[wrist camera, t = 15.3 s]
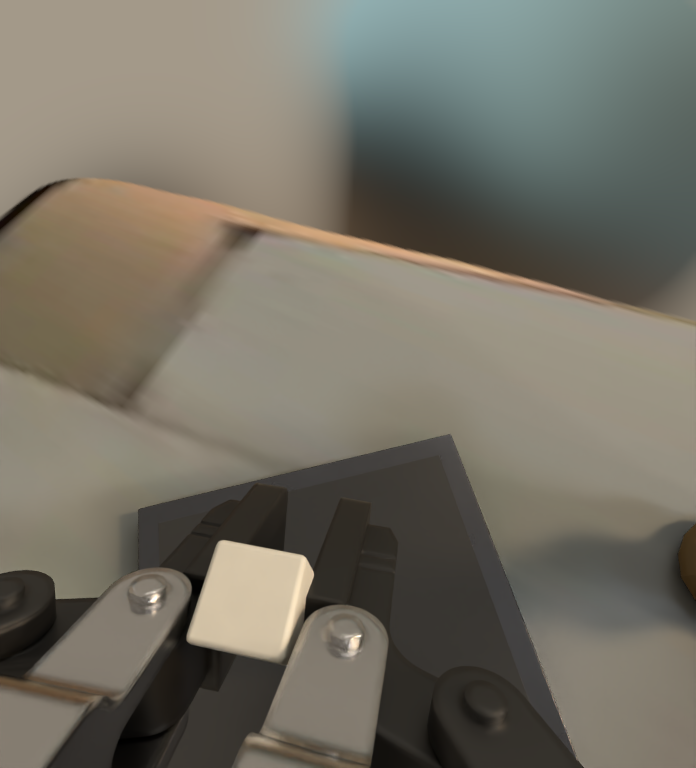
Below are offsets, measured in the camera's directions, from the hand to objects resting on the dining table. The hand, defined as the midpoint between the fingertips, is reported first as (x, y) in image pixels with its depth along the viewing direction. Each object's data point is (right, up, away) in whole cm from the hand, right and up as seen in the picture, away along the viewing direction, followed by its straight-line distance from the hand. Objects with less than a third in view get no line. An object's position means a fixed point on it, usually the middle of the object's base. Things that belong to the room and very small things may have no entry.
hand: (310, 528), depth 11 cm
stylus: (0, -8, +8) cm, 11 cm away
